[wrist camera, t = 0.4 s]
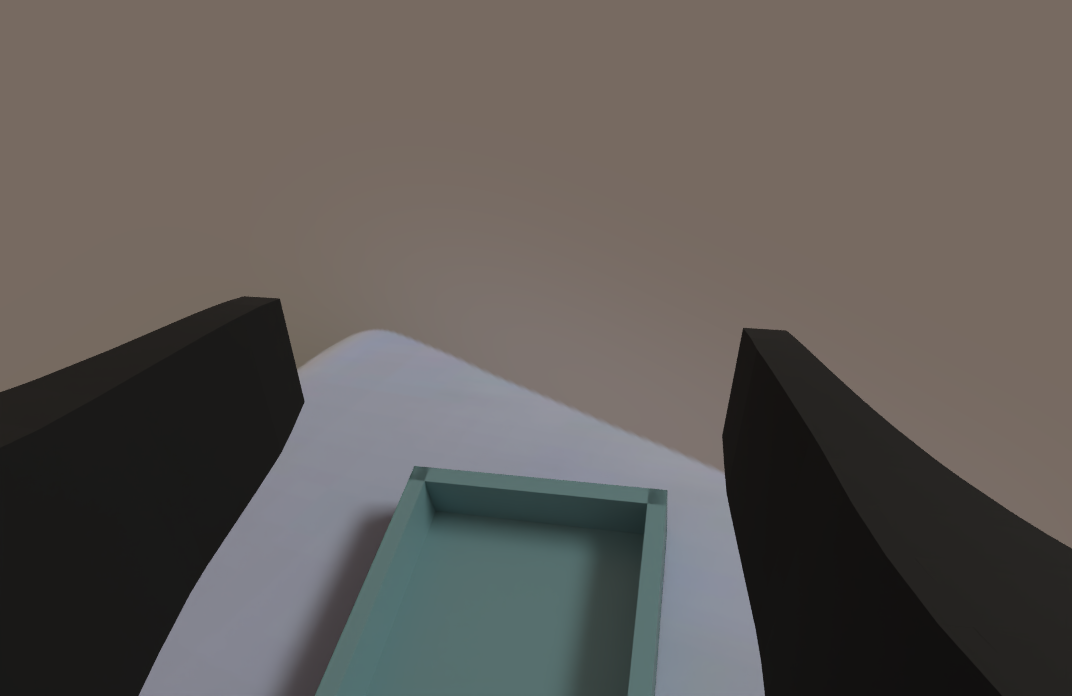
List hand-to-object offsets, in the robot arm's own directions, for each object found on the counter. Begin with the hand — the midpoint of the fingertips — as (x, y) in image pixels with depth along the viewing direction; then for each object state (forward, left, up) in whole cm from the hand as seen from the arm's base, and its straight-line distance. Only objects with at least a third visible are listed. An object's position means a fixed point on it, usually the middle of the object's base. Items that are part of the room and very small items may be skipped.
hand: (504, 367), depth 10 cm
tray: (+4, +4, -20) cm, 21 cm away
